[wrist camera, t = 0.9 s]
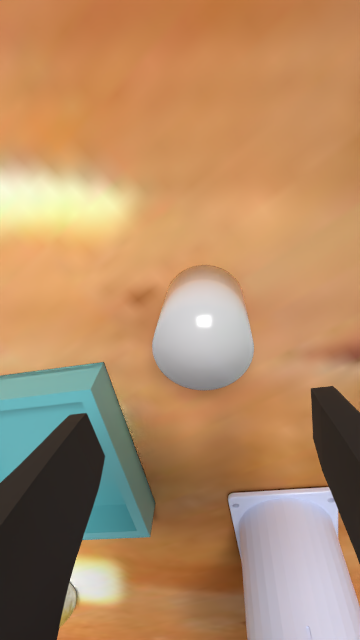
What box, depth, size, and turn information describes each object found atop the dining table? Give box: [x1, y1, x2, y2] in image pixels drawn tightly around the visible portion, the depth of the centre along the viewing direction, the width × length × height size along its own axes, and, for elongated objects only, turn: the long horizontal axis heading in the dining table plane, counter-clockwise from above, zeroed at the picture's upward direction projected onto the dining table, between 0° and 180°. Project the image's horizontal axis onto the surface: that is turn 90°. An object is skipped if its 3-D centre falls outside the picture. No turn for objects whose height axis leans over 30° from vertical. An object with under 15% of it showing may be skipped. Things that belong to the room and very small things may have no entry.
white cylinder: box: [152, 265, 254, 390], centre depth 17 cm, size 4×4×5 cm
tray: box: [0, 362, 155, 540], centre depth 25 cm, size 14×14×3 cm
